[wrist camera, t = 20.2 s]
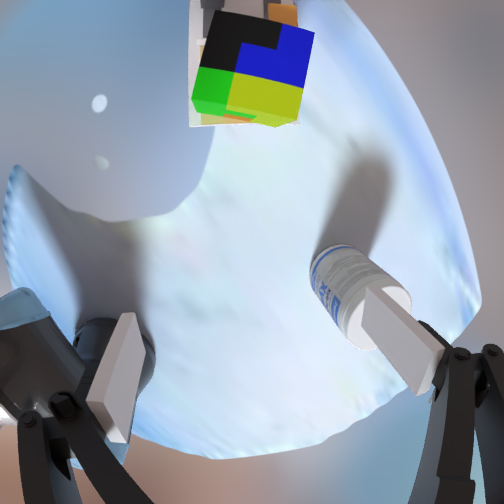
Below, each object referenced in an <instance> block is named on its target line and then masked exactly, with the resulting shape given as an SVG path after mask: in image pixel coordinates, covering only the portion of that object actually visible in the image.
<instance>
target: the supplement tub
mask: <svg viewBox="0 0 504 504" xmlns="http://www.w3.org/2000/svg"><path fill="white" fill-rule="evenodd" d="M310 284H311V287H312V289H313V291H314V292H315V294H316V295H317V297H318V298H319V300H320V301H321V303H322V304H323V306H324V307H325V308H326V310H327V311H328V313H329V314H330V316H331V317H332V319H333V320H334V322H335V323H336V325H337V326H338V328H339V329H340V331H341V332H342V333H343V335H344V336H345V338H346V339H347V340H348V341H349V342H350V343H351V344H352V345H353V346H354V347H355V348H357V349H360V350H366V351H369V350H375V349H378V347H377V346H376V344H375V343H374V342H373V341H372V339H371V338H370V337H369V336H368V334H367V333H366V332H365V331H364V329H363V328H362V327H361V322H362V316H363V309H364V302H365V295H366V287H370V286H376V285H378V286H379V287H380V288H381V289H382V290H383V291H384V292H386V293H387V294H388V295H389V296H390V297H391V298H392V299H393V300H394V301H396V302H397V303H398V304H399V305H400V306H401V307H402V308H403V309H404V310H406V311H407V312H408V313H409V314H410V315H411V310H412V302H411V297H410V295H409V293H408V292H407V291H406V290H405V289H404V287H403V286H402V285H401V284H400V283H399V282H398V281H397V280H395V279H394V278H393V277H392V276H390V275H389V274H388V273H387V272H385V271H384V270H383V269H381V268H380V267H379V266H378V265H376V264H375V263H374V262H373V261H371V260H370V259H369V258H367V257H366V256H365V255H363V254H362V253H361V252H360V251H358V250H357V249H355V248H354V247H352V246H349V245H343V244H340V245H334V246H331V247H329V248H327V249H325V250H324V251H323V252H321V253H320V254H319V255H318V257H317V258H316V259H315V261H314V262H313V264H312V267H311V270H310Z"/></svg>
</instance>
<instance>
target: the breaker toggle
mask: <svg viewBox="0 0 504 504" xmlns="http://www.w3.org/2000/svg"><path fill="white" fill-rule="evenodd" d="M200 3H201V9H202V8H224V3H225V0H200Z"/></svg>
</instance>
